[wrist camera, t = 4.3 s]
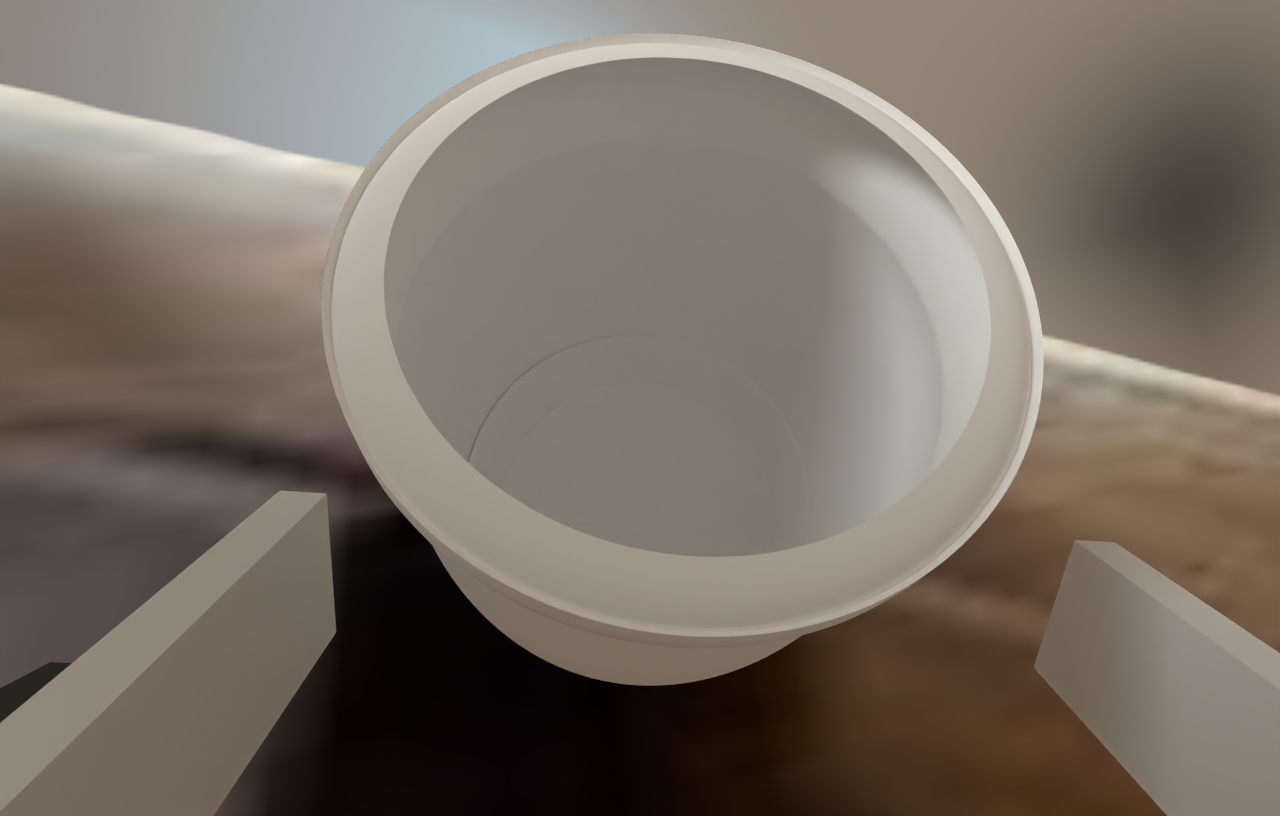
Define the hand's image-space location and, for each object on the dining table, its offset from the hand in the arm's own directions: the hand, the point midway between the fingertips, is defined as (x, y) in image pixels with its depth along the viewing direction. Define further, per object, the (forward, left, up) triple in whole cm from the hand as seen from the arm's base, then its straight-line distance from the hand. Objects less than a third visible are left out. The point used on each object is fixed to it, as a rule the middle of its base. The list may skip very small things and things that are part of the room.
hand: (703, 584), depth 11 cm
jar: (-4, 0, -11) cm, 12 cm away
